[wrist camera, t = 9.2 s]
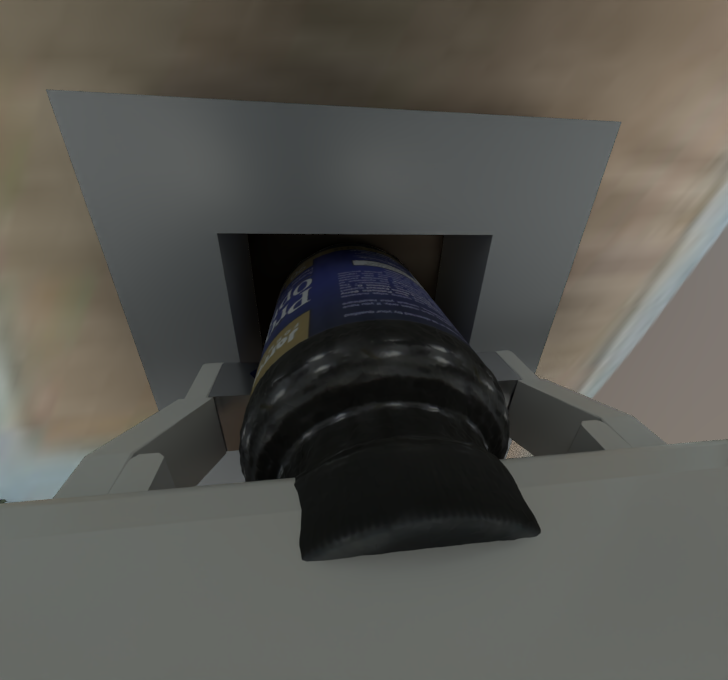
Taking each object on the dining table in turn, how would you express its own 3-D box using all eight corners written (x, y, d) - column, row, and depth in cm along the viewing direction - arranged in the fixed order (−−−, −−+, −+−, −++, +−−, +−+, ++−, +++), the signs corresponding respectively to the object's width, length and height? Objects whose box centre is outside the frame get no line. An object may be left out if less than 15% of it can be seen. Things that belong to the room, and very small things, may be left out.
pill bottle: (282, 228, 12) (154, 459, 3) (434, 252, 14) (725, 474, 4) (274, 366, 15) (196, 723, 5) (401, 376, 16) (521, 686, 7)
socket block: (133, 111, 11) (46, 89, 7) (535, 131, 12) (621, 121, 9) (215, 432, 17) (190, 501, 14) (467, 415, 19) (500, 472, 16)
